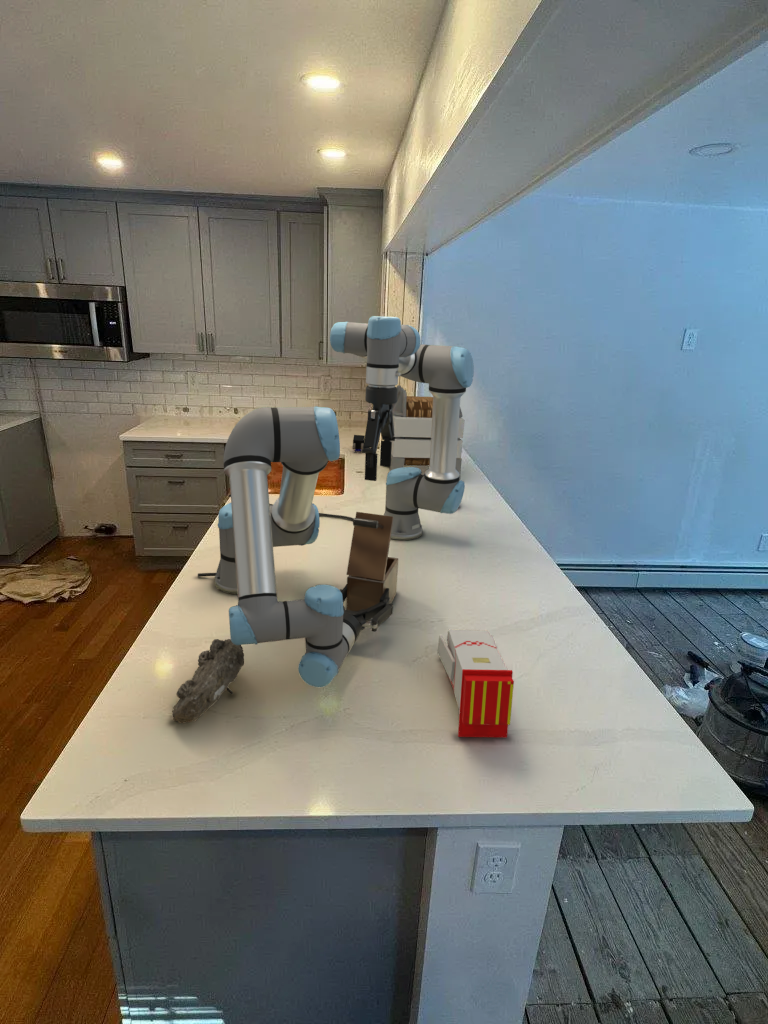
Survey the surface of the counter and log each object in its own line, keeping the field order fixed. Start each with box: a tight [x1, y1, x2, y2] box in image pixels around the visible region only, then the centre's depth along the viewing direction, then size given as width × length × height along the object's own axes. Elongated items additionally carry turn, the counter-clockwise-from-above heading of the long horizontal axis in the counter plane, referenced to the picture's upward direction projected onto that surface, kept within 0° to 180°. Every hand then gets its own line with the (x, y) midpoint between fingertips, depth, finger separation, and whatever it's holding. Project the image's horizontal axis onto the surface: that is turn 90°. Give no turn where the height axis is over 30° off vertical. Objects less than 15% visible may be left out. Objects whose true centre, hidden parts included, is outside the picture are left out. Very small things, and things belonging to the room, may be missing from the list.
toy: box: [437, 628, 515, 738], centre depth 117 cm, size 12×13×30 cm
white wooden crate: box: [389, 384, 465, 480], centre depth 268 cm, size 34×33×41 cm
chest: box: [345, 556, 399, 611], centre depth 150 cm, size 16×10×11 cm, turn 165°
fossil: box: [171, 638, 245, 724], centre depth 113 cm, size 22×10×15 cm
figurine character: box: [351, 434, 365, 454], centre depth 311 cm, size 7×8×15 cm
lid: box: [346, 511, 394, 581], centre depth 138 cm, size 16×10×9 cm
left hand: (368, 589), depth 146 cm, fingers closed on chest, 9 cm apart
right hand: (378, 472), depth 140 cm, fingers open, 13 cm apart
